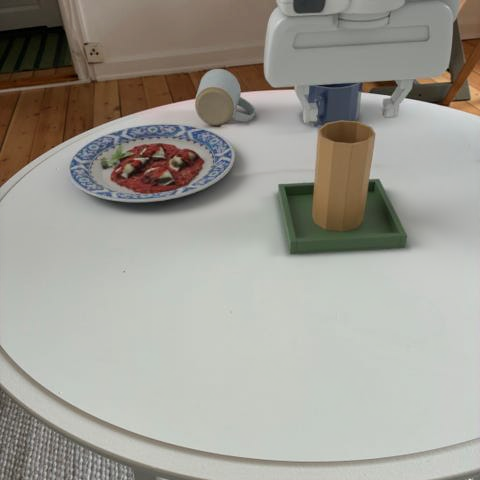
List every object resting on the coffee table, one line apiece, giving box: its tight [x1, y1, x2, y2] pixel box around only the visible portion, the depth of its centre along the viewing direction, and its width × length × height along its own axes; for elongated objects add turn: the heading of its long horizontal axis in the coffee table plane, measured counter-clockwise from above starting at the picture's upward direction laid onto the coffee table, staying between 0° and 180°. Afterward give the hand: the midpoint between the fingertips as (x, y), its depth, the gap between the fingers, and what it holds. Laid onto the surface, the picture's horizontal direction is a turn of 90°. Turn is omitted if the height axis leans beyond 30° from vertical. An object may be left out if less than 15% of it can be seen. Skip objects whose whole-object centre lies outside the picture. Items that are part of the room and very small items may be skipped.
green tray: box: [277, 178, 408, 255], centre depth 73 cm, size 15×15×2 cm
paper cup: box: [312, 120, 377, 232], centre depth 69 cm, size 7×7×12 cm
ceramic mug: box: [194, 68, 257, 127], centre depth 97 cm, size 11×8×8 cm
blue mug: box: [304, 82, 364, 128], centre depth 95 cm, size 13×10×7 cm
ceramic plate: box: [67, 123, 236, 203], centre depth 84 cm, size 26×26×3 cm
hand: (349, 118), depth 64 cm, fingers open, 8 cm apart
